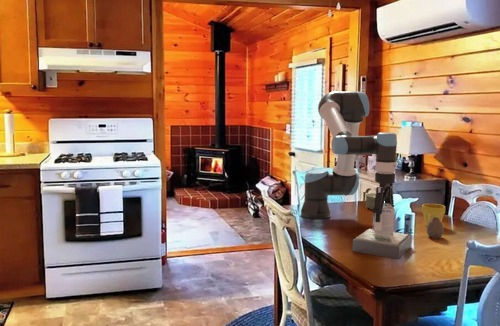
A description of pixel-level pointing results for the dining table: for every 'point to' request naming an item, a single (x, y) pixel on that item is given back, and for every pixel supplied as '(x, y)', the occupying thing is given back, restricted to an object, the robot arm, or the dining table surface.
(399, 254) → the stand
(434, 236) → the gray brown egg
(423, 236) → the dining table surface
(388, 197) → the robot arm
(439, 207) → the plant pot
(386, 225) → the light bulb box
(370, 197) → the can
